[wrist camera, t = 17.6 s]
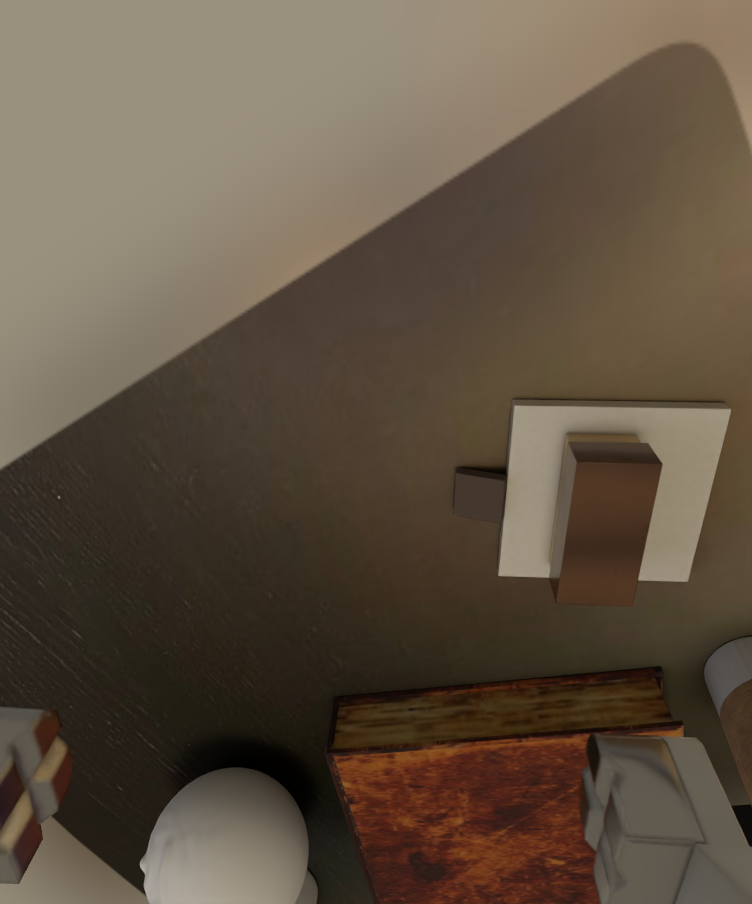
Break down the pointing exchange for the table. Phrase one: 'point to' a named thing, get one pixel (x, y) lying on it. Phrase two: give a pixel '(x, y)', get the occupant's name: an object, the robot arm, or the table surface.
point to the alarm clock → (744, 820)
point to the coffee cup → (734, 700)
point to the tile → (658, 423)
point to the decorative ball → (228, 843)
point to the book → (481, 783)
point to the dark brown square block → (480, 495)
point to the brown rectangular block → (602, 518)
